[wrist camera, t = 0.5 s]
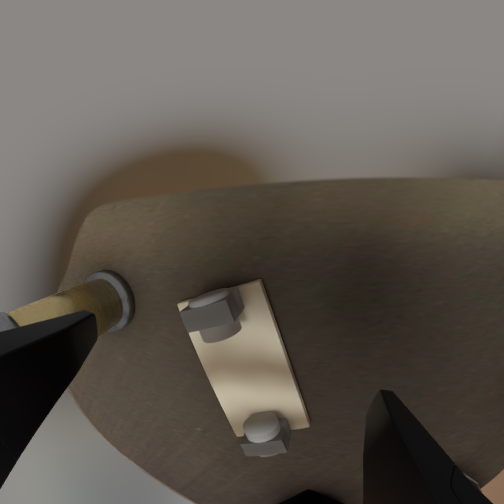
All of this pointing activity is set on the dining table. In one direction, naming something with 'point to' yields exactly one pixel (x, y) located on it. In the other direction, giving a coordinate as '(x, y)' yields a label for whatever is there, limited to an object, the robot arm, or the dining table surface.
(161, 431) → the dining table surface
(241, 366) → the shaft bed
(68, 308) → the metal capped yellow cylinder
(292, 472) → the dining table surface
